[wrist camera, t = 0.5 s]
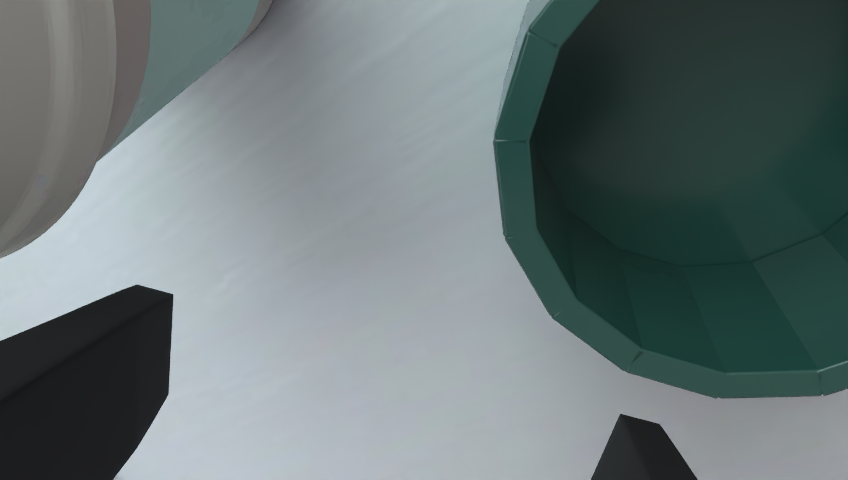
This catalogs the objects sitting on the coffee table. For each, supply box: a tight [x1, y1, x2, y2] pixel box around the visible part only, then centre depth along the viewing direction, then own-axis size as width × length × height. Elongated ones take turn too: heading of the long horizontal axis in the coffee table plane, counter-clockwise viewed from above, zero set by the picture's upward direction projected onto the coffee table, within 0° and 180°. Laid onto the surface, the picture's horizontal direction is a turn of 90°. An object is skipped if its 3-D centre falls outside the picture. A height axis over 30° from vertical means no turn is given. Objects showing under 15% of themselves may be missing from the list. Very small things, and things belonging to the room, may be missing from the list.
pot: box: [493, 0, 848, 398], centre depth 15 cm, size 11×11×5 cm
